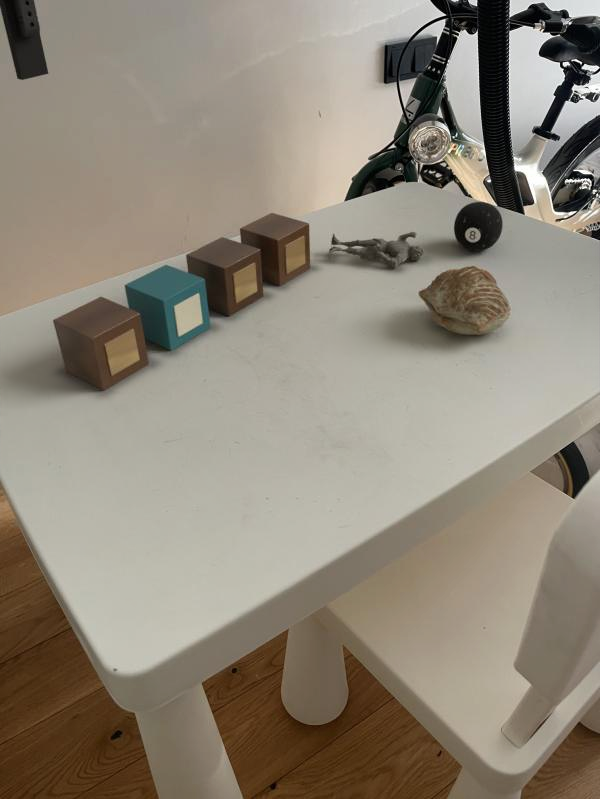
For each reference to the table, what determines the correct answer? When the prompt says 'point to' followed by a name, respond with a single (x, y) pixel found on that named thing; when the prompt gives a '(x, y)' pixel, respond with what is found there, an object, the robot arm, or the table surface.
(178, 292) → the teal block
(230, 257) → the walnut block
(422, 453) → the table surface
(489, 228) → the billiard ball
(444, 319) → the seashell
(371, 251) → the figurine
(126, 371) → the walnut block
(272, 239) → the walnut block
